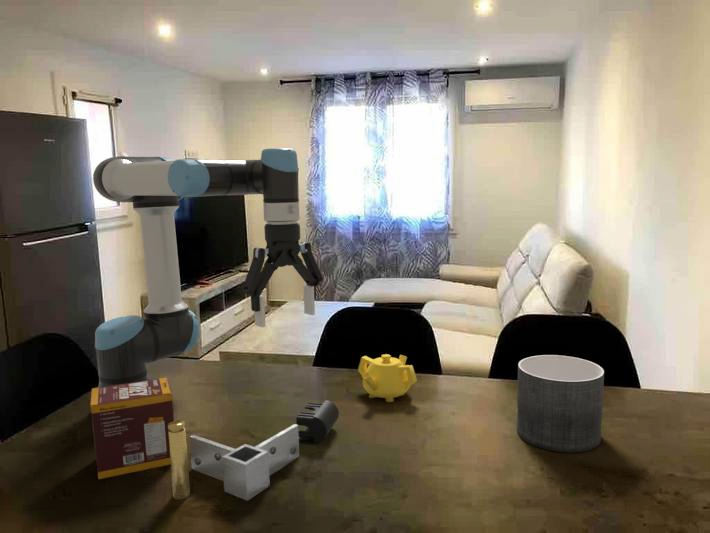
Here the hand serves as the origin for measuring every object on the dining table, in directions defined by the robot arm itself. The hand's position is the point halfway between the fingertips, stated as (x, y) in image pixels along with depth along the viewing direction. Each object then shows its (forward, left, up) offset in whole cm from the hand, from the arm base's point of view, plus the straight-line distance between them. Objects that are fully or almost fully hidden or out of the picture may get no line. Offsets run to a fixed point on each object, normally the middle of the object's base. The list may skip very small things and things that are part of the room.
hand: (285, 319), depth 123 cm
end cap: (+4, +5, -28) cm, 29 cm away
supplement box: (-22, -24, -28) cm, 43 cm away
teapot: (+5, +34, -28) cm, 44 cm away
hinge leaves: (0, -14, -28) cm, 31 cm away
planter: (+50, +33, -28) cm, 66 cm away
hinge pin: (-3, -28, -28) cm, 40 cm away
